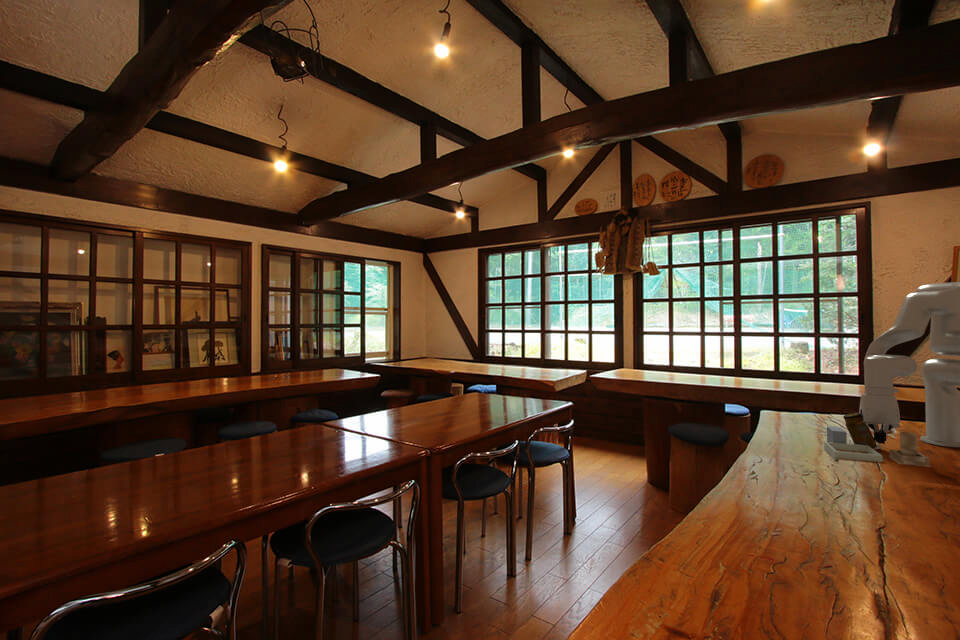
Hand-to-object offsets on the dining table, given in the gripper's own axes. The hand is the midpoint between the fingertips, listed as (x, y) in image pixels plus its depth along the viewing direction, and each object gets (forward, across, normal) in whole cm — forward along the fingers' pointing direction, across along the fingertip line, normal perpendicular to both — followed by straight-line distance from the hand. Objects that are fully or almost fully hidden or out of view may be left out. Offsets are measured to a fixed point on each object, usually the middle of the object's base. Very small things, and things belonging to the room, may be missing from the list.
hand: (880, 442), depth 154 cm
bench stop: (+3, +12, 0) cm, 13 cm away
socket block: (+3, -3, +13) cm, 14 cm away
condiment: (+2, +4, 0) cm, 4 cm away
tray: (+3, +11, +10) cm, 16 cm away
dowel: (+2, -3, +13) cm, 14 cm away
